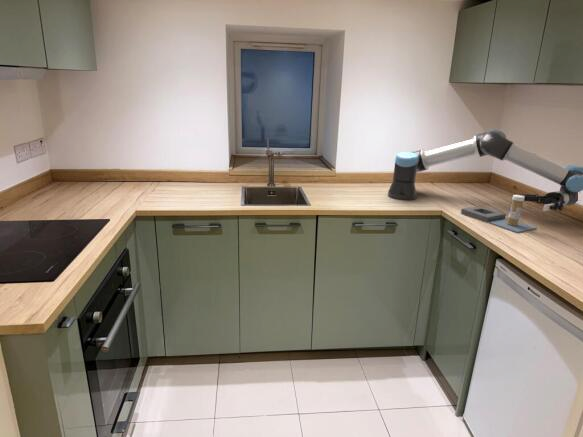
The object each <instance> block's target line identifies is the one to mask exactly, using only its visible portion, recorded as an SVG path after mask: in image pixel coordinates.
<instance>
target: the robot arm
mask: <svg viewBox="0 0 583 437" xmlns="http://www.w3.org/2000/svg"><path fill="white" fill-rule="evenodd" d="M472 156H478V158H479V157H484V156H485V157H486V156H490V157H493V158H495V159H497V160H500V161H502V162H504V161H507V162H510V163H511V164H513V165H516V166H518V167H520V168H522V169H525V170H527V171H529V172H532V173H533V174H536V175H538V176H540V177H542V178H544V179H547V180H549V181H551V182H554V183H555V184H558V185H559V186H560V188H559V190H556V191H550V192H548V193H546V194H545V195H539V194H525V193H522V194H521V193H519V194H518V195H521V196H524V197H525V198H524V201H523V203H524V202H534V203H537V204H542V205H543V207H542V211H543V212H546V211H547V212H549V211H552V210H553V211H557V210H558V211H560V212H562V211H563V208H565V206H572V205H575V204H577V203H578V202H577V201H578V192H579V193H580V192H581V191H583V166H581V165H575V164H569V165H566V166H565V167H564V166H562V165H559V164H558V163H557V164H556V163H554V162H552V161H550V160H548V159H546V158H543V157H541V156H539V155H537V154H534V153H532V152H531V151H528V150H525V149H523V148H521V147H519V146H516V144H515V142H513V141H512V140H510V139H508V138H507V135H506V134H505V132H503V131H502V130H500V129H495V128H494V129H490V130H488V131H486V132H481V133H478V134H474V136H473V137H472V138H470V139H467V140H464V141H460V142H456V143H452V144H449V145H446V146H445V145H444V146H441V147H438V148H433V149H431V150H424V149H420V150H416V151H403V152H402V151H401V152H399V153H397V154H396V156H395V160H394V168H393V169H394V170H393V176H392V178H393V179H392V182H391V185H390V187H389V189H388V191H387V196H389V198H392V199H397V200H405V201H406V200H407V201H408V200H409V201H410V200H411V201H412V200H416V199H417V190H416V176H417V174H418V173H419V172H424V171H425V172H426V171H428V170H429V168H430V167H433V166H437V165H441V164H445V163H448V162H453V161H457V160H460V159H461V160H462V159H464V158H469V157H472ZM576 202H577V203H576Z"/></svg>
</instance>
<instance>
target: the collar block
mask: <svg viewBox="0 0 583 437" xmlns="http://www.w3.org/2000/svg"><path fill="white" fill-rule="evenodd" d="M460 214H461V215H464V216H467V217H469V218H472V219H475V220H478V221H480V220H481V221H480V222H483V221H484V223H488V222H491V221H496V220H501V219H506V217H507V213H505V212H501V211H498V210H495V209H491V208H488V207H485V206H481V205H477V206H471V207H465V208H461V211H460Z"/></svg>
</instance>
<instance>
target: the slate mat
mask: <svg viewBox="0 0 583 437" xmlns="http://www.w3.org/2000/svg"><path fill="white" fill-rule="evenodd" d="M507 221H508V217H507V218H505V219H501V220H496V221H491V222H487V223H488V224H489V223H490V224H489V225H493V226H496V227H498V228H501V229H504V230H507V231H510V232H512V233H515V234H519V233H524V232H530V231H533V230H537V227H535V226H534V225H533V226H532V225H529V224H525V223H523V222H520V221H518V225H517V226H511V225H508V224H507Z"/></svg>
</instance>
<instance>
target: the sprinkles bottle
mask: <svg viewBox="0 0 583 437" xmlns="http://www.w3.org/2000/svg"><path fill="white" fill-rule="evenodd" d="M524 198H525V197H524V196H521V195H519V194H513V195H512V199H511V200H512V201H511V206H510V209H509V212H508V217H507V218H508V221H507V224H508V225H511V226H517V225H518V222H519V220H520V216H521V213H522V209H523V203H524V202H525V201H524ZM523 201H524V202H523Z"/></svg>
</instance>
